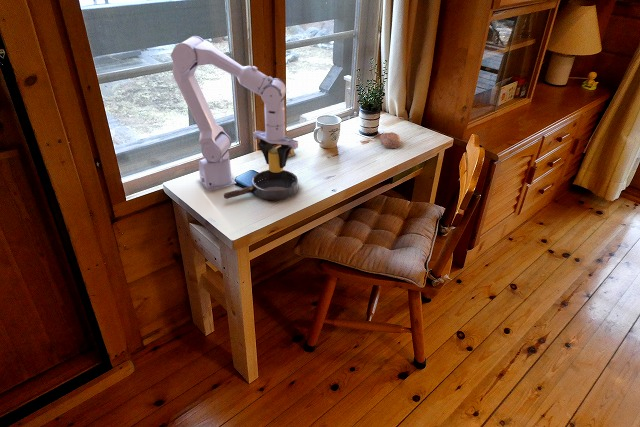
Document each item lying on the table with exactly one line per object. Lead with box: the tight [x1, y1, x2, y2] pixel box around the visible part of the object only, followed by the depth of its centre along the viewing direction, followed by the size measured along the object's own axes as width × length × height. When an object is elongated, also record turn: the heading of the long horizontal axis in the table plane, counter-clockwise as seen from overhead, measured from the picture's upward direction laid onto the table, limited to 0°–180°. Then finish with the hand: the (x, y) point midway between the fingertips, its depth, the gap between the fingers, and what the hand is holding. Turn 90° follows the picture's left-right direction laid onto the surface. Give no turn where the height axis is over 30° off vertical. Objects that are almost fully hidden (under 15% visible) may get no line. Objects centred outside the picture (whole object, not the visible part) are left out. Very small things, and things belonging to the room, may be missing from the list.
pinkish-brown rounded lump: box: [379, 132, 402, 149], centre depth 178 cm, size 8×6×8 cm
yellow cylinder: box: [268, 147, 284, 173], centre depth 143 cm, size 4×4×7 cm
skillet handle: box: [223, 185, 256, 200], centre depth 141 cm, size 11×2×2 cm, turn 122°
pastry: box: [275, 144, 296, 158], centre depth 167 cm, size 9×7×4 cm
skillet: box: [251, 169, 299, 202], centre depth 147 cm, size 14×14×4 cm
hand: (276, 164), depth 144 cm, fingers closed on yellow cylinder, 4 cm apart
